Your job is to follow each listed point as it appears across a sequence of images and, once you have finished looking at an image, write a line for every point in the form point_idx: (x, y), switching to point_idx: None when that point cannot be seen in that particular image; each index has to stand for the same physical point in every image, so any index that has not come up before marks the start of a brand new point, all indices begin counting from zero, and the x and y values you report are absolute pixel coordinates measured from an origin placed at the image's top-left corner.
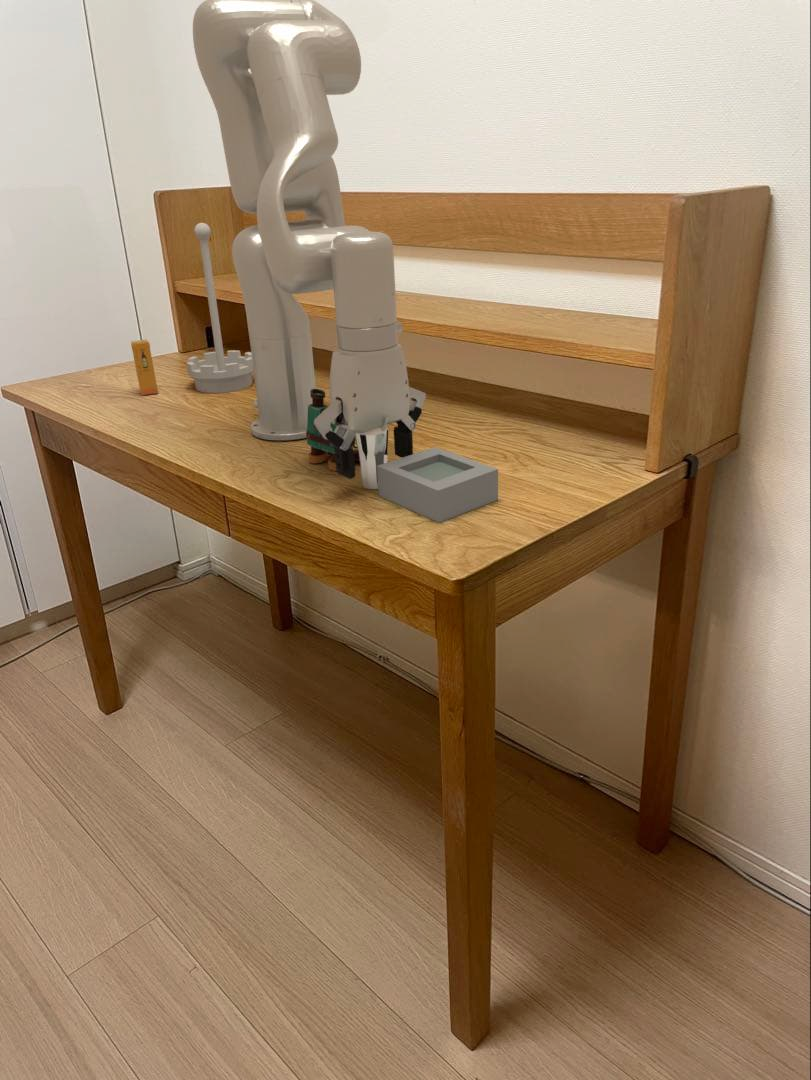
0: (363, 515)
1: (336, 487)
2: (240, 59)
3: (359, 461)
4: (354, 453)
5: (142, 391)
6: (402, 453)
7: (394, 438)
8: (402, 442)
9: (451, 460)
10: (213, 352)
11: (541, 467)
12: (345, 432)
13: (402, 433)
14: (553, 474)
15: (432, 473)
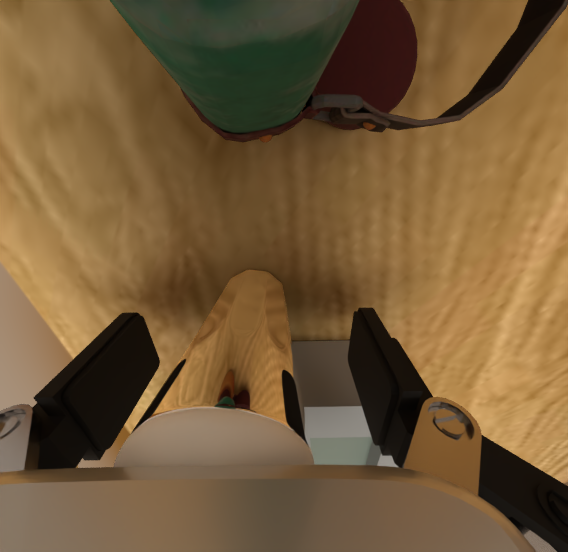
0: (161, 382)
1: (166, 241)
2: None
3: (208, 315)
4: (318, 94)
5: None
6: (353, 349)
7: (374, 353)
8: (365, 385)
9: (376, 455)
10: None
11: (532, 414)
12: (235, 122)
13: (378, 422)
14: (505, 436)
15: (311, 445)
